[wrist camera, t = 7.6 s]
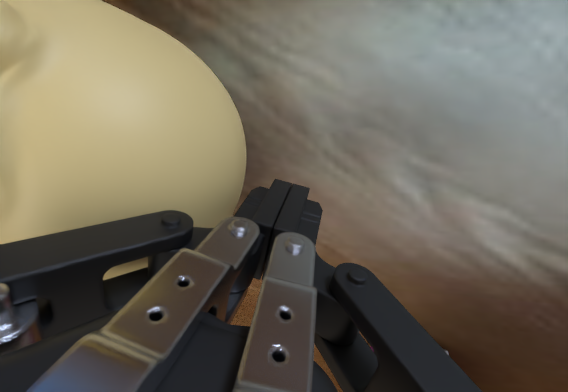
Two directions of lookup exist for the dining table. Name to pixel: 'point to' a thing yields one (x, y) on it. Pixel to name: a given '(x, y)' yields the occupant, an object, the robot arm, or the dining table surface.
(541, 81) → the dining table surface
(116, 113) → the sculpture
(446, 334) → the dining table surface
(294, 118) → the dining table surface
